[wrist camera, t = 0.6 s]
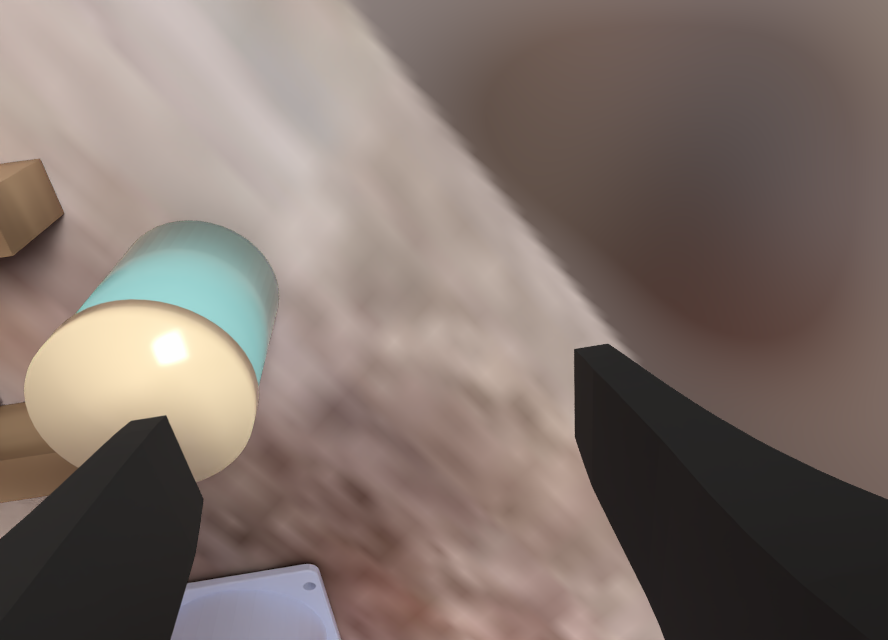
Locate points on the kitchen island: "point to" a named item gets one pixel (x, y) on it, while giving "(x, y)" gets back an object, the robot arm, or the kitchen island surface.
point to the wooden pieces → (9, 426)
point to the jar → (162, 348)
